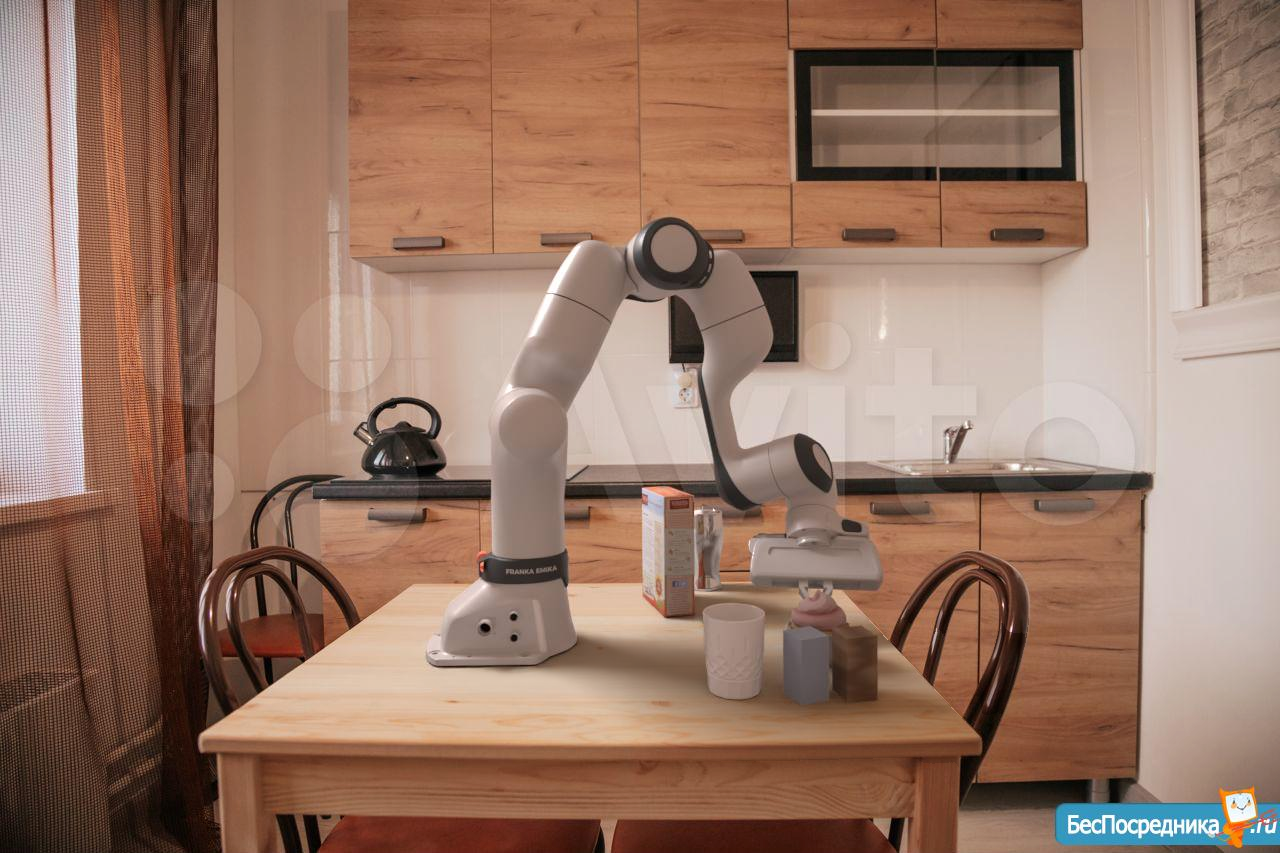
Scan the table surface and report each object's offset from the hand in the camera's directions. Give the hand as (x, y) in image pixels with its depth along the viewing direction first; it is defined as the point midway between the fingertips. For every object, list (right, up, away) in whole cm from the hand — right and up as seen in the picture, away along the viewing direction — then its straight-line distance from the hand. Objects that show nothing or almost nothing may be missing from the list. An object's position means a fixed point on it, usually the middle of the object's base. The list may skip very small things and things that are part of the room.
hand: (816, 611), depth 105 cm
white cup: (-15, -6, -16) cm, 23 cm away
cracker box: (-22, -5, +20) cm, 30 cm away
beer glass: (-14, -4, +32) cm, 35 cm away
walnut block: (0, -6, -18) cm, 19 cm away
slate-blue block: (-6, -6, -19) cm, 20 cm away
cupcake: (-1, -5, -6) cm, 8 cm away
